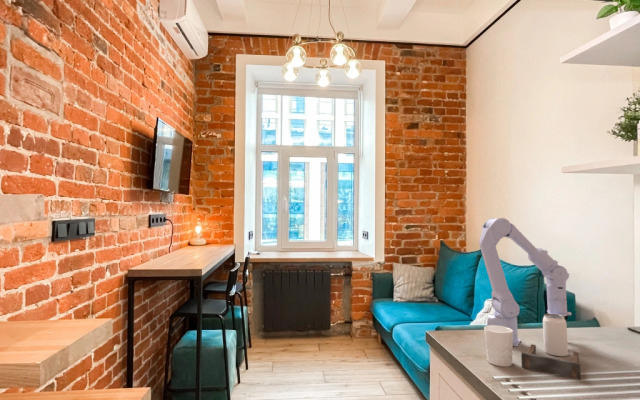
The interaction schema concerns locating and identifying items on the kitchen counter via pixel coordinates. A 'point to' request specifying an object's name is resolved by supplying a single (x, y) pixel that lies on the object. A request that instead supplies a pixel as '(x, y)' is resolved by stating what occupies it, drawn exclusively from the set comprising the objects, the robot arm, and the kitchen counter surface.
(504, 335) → the white cup
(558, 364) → the bay
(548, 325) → the can
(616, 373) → the kitchen counter surface
